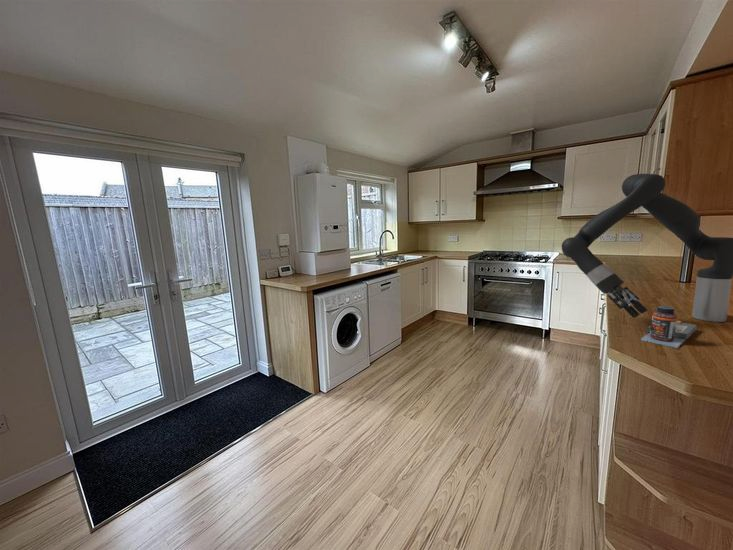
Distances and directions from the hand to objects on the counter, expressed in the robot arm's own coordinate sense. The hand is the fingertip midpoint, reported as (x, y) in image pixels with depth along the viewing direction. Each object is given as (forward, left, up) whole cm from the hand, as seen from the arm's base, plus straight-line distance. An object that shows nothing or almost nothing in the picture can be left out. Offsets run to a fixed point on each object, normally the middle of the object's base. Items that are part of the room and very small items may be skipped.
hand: (640, 314), depth 105 cm
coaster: (0, +6, -8) cm, 10 cm away
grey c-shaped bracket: (-16, +6, -8) cm, 19 cm away
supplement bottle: (0, +6, -8) cm, 10 cm away
